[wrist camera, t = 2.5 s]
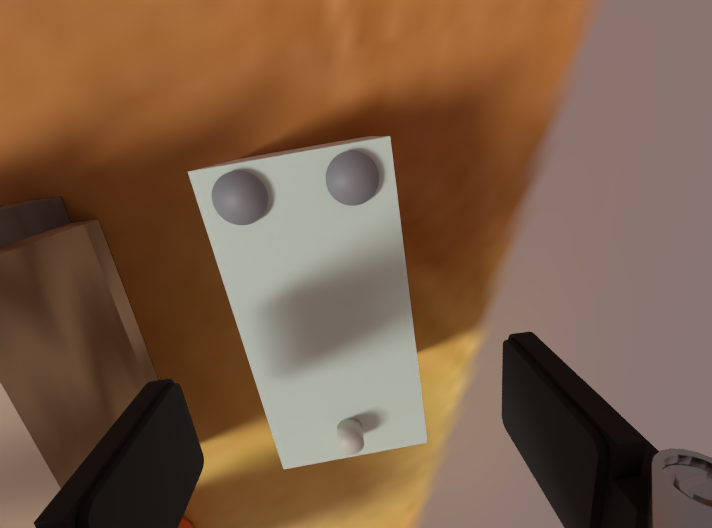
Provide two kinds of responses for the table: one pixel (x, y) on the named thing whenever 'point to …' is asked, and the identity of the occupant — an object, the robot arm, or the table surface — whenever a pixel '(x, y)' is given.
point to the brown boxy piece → (59, 352)
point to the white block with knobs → (319, 294)
